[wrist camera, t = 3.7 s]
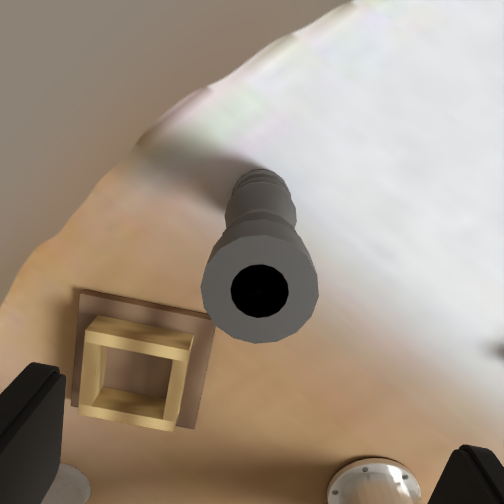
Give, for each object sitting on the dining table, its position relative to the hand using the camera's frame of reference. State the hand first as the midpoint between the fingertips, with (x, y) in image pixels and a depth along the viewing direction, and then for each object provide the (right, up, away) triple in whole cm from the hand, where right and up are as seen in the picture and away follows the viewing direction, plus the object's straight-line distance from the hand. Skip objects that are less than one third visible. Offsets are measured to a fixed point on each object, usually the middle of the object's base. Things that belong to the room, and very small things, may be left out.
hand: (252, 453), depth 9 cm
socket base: (-14, -9, +40) cm, 43 cm away
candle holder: (+1, +11, +33) cm, 35 cm away
